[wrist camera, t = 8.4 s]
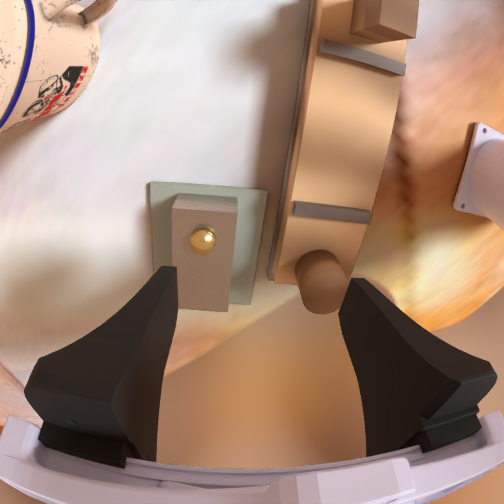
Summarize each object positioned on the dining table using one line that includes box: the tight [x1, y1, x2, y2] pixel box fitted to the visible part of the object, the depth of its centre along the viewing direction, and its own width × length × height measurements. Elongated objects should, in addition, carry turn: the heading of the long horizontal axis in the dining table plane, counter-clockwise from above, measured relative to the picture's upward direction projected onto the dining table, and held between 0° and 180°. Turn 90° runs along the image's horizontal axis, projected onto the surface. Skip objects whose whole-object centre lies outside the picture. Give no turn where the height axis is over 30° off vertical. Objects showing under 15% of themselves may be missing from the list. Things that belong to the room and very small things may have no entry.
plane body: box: [267, 0, 419, 314], centre depth 16 cm, size 22×6×6 cm, turn 173°
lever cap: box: [172, 193, 238, 312], centre depth 21 cm, size 8×4×3 cm, turn 173°
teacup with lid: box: [0, 0, 117, 133], centre depth 9 cm, size 12×9×12 cm
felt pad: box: [150, 181, 268, 305], centre depth 23 cm, size 8×10×1 cm
